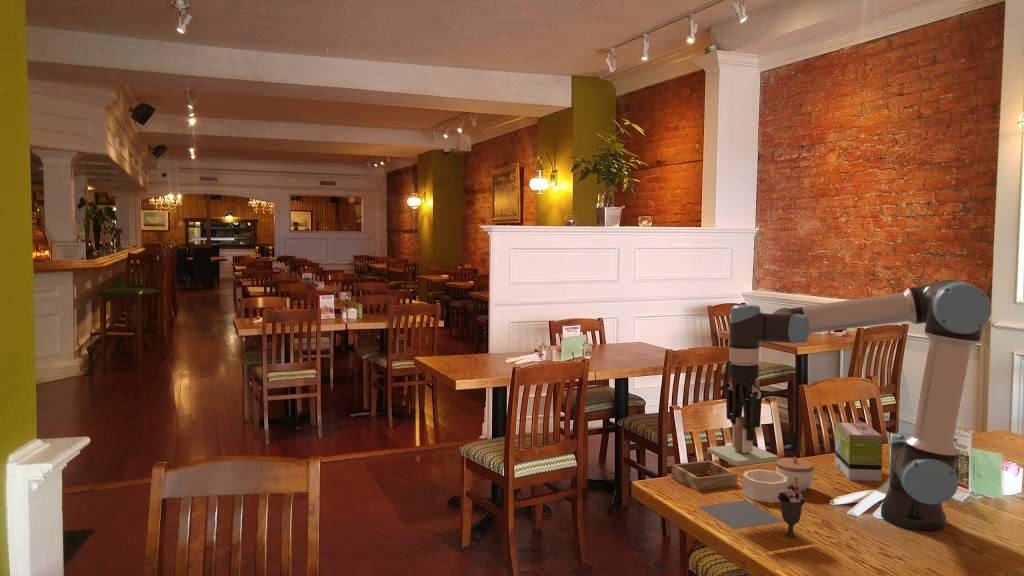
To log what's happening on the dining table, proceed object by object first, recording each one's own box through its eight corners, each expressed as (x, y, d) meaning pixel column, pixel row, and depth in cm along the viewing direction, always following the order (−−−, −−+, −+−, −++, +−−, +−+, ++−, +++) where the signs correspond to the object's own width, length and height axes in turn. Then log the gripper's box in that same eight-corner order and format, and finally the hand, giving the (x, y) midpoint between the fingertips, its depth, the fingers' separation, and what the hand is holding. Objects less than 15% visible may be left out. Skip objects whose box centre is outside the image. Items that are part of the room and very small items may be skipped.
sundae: (803, 534, 181) (805, 476, 180) (805, 545, 175) (807, 485, 174) (776, 531, 183) (777, 473, 182) (776, 541, 177) (778, 481, 176)
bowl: (795, 501, 204) (796, 480, 204) (761, 506, 200) (761, 485, 200) (768, 487, 215) (768, 468, 215) (735, 492, 212) (735, 472, 211)
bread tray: (737, 486, 216) (737, 473, 216) (697, 492, 211) (697, 478, 211) (709, 472, 229) (710, 460, 229) (671, 477, 225) (671, 464, 224)
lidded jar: (819, 495, 210) (820, 463, 209) (782, 494, 210) (783, 463, 209) (805, 482, 220) (806, 452, 220) (770, 482, 220) (770, 452, 220)
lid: (778, 460, 188) (779, 421, 187) (736, 466, 184) (737, 426, 183) (746, 447, 200) (747, 410, 200) (707, 451, 196) (707, 414, 195)
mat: (784, 523, 188) (784, 521, 188) (733, 531, 183) (733, 529, 183) (746, 502, 203) (746, 500, 203) (697, 509, 198) (697, 506, 198)
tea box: (833, 465, 237) (834, 421, 236) (865, 466, 236) (867, 422, 235) (848, 480, 222) (849, 433, 221) (882, 482, 221) (884, 434, 220)
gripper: (776, 367, 184) (774, 457, 185) (736, 357, 199) (734, 440, 201) (752, 369, 181) (750, 460, 183) (713, 359, 197) (712, 442, 199)
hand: (742, 449), depth 192 cm, fingers closed on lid, 4 cm apart
